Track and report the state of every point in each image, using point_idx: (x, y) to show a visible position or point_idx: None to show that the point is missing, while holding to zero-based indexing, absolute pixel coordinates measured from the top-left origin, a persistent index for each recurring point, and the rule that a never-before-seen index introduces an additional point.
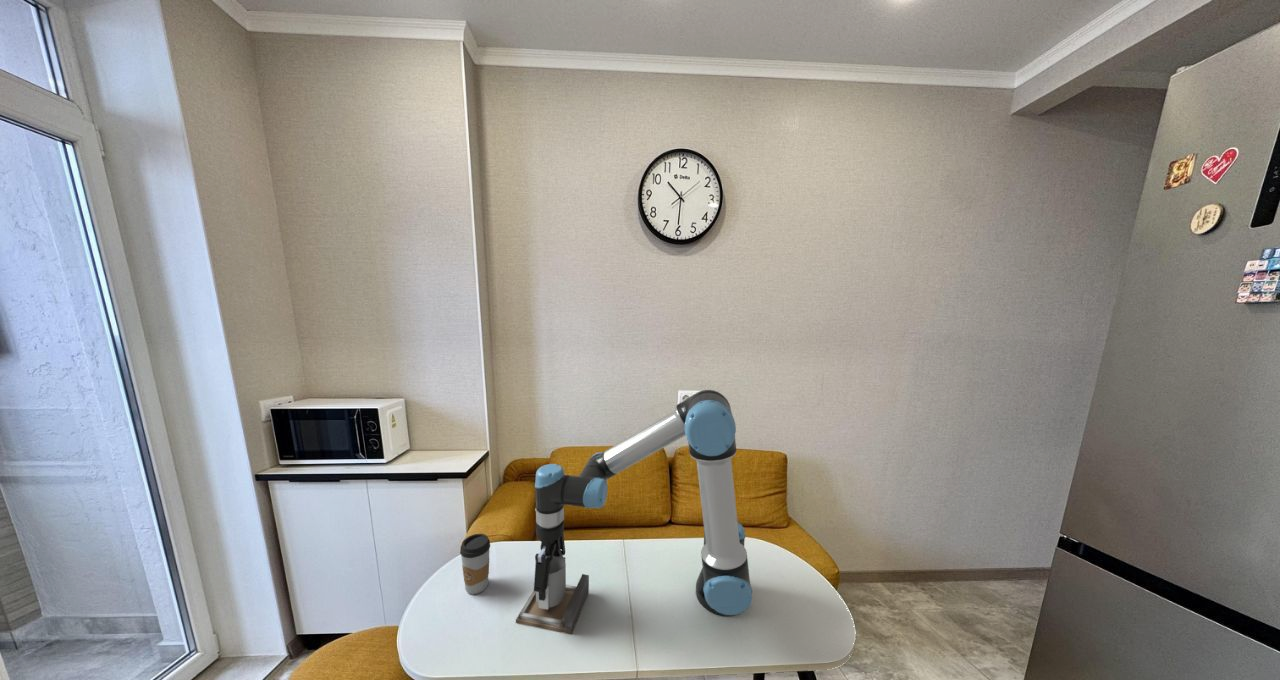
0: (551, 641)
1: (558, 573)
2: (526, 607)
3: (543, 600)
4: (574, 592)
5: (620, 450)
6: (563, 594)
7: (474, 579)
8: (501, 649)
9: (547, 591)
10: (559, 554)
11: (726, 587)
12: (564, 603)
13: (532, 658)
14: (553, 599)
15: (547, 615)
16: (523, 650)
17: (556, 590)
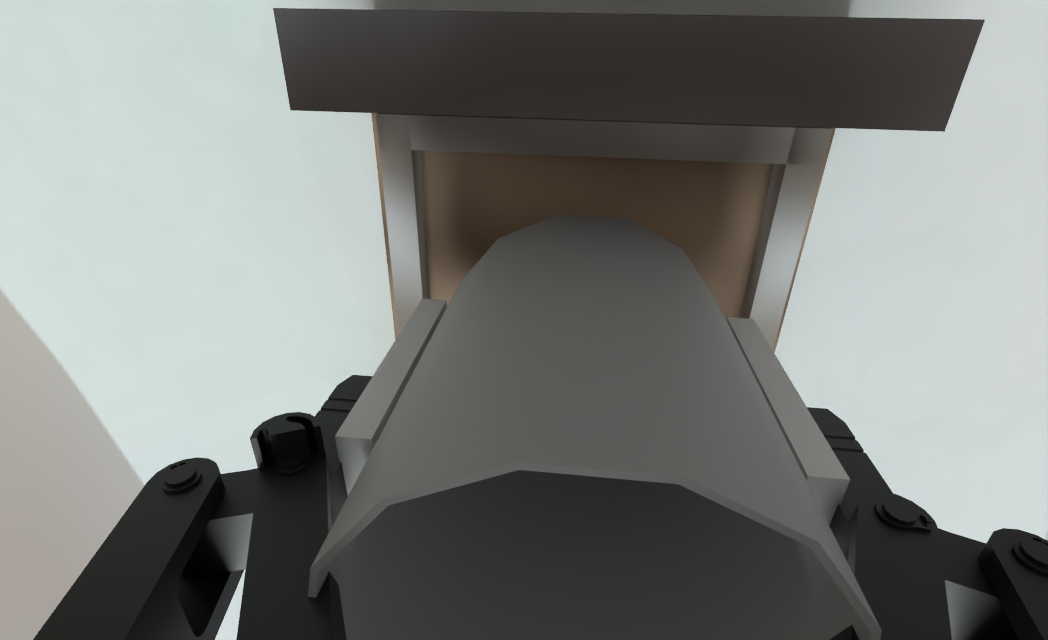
0: (904, 182)
1: (778, 490)
2: None
3: (829, 416)
4: (606, 110)
5: None
6: (621, 237)
7: None
8: (930, 465)
9: (825, 443)
10: (327, 623)
11: None
12: (560, 204)
13: (1041, 268)
14: (721, 316)
15: None
16: (958, 347)
17: (725, 337)
